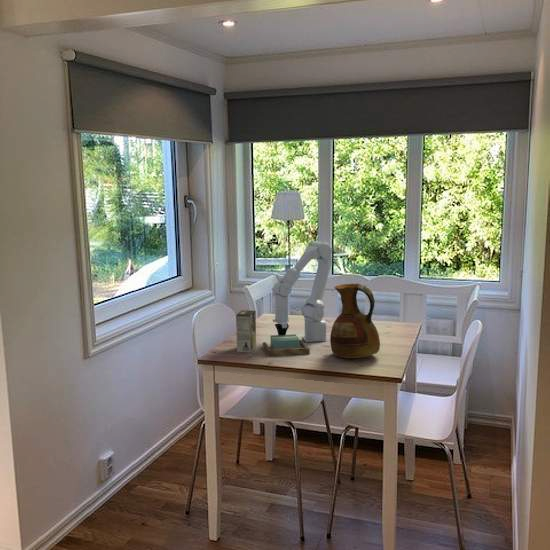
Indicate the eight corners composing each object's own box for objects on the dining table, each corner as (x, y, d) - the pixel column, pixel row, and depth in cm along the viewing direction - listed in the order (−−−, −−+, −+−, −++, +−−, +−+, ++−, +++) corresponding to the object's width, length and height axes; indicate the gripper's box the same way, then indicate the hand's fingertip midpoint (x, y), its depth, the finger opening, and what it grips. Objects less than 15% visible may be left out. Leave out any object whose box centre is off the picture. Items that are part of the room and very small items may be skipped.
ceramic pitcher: (337, 347, 254) (337, 278, 249) (384, 352, 247) (385, 281, 242) (323, 360, 236) (324, 286, 231) (374, 365, 229) (375, 289, 224)
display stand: (302, 344, 258) (302, 339, 258) (309, 354, 245) (309, 348, 244) (262, 346, 256) (262, 341, 255) (267, 356, 242) (267, 350, 241)
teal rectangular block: (295, 345, 258) (295, 334, 258) (299, 351, 250) (299, 339, 249) (270, 346, 257) (270, 335, 256) (273, 352, 248) (273, 340, 247)
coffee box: (242, 346, 257) (241, 309, 255) (256, 346, 256) (256, 310, 253) (236, 352, 248) (235, 314, 246) (251, 352, 247) (250, 315, 244)
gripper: (270, 306, 263) (270, 336, 265) (275, 313, 249) (275, 345, 251) (285, 306, 264) (285, 335, 266) (291, 313, 250) (291, 344, 252)
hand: (281, 340), depth 259 cm, fingers closed
